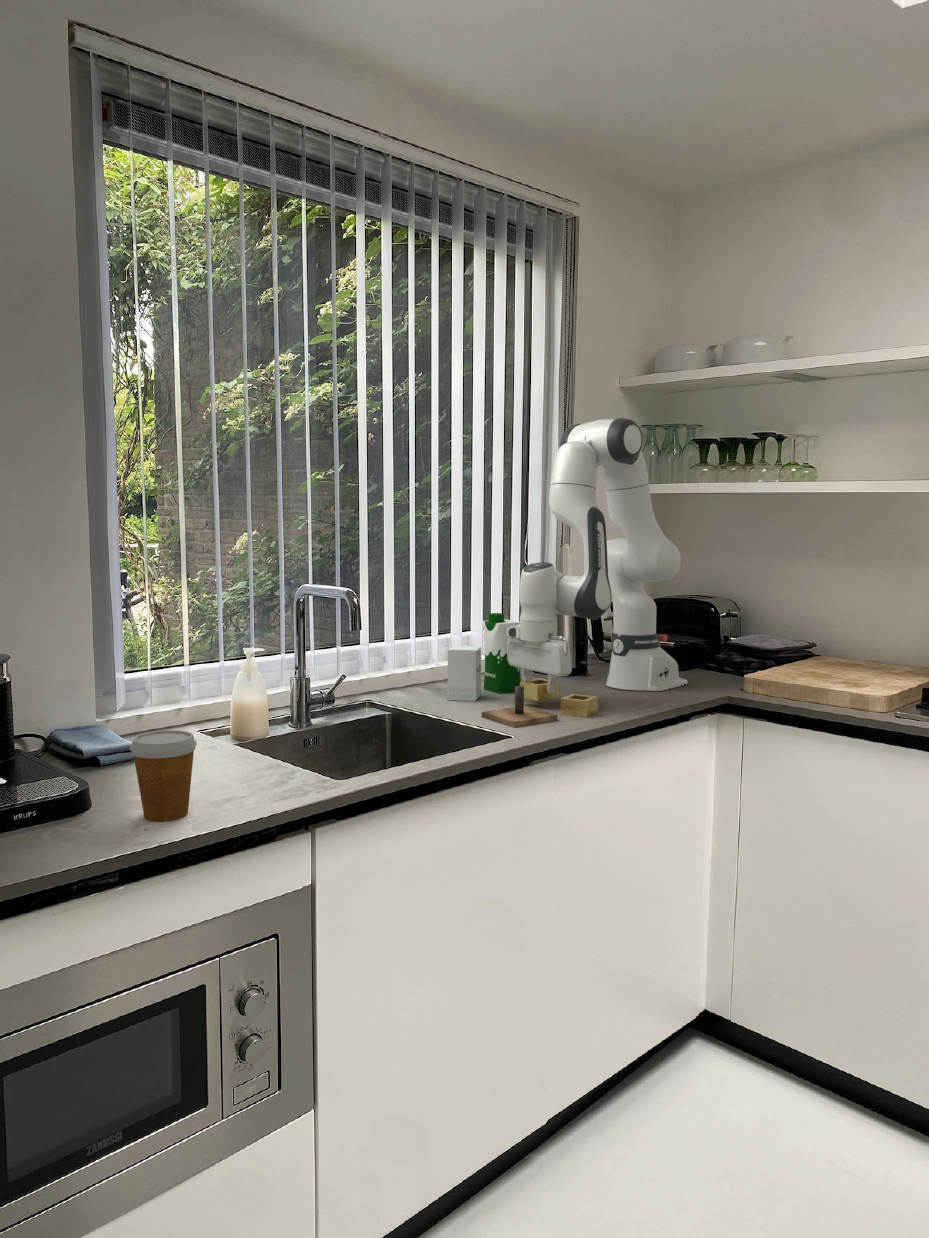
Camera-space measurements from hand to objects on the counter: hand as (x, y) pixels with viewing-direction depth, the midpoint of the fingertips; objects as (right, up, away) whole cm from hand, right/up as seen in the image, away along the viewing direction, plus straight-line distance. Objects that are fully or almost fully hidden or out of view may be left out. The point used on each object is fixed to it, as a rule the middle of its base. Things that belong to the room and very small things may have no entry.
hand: (539, 689), depth 215 cm
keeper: (-6, -5, -14) cm, 16 cm away
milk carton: (-8, -2, +19) cm, 21 cm away
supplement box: (-18, -3, +9) cm, 20 cm away
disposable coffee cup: (-63, -13, -79) cm, 102 cm away
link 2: (+8, -5, -8) cm, 13 cm away
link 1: (0, -2, 0) cm, 2 cm away
